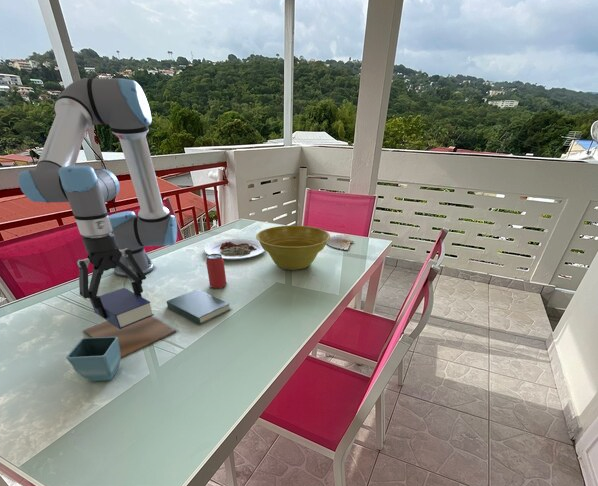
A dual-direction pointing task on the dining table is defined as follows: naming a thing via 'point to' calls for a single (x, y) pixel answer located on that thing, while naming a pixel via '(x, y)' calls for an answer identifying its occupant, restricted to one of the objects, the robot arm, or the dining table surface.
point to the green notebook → (198, 306)
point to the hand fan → (339, 241)
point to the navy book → (124, 308)
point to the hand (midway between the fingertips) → (122, 309)
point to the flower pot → (96, 358)
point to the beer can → (216, 271)
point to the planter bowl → (293, 245)
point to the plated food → (235, 248)
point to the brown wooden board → (132, 334)
